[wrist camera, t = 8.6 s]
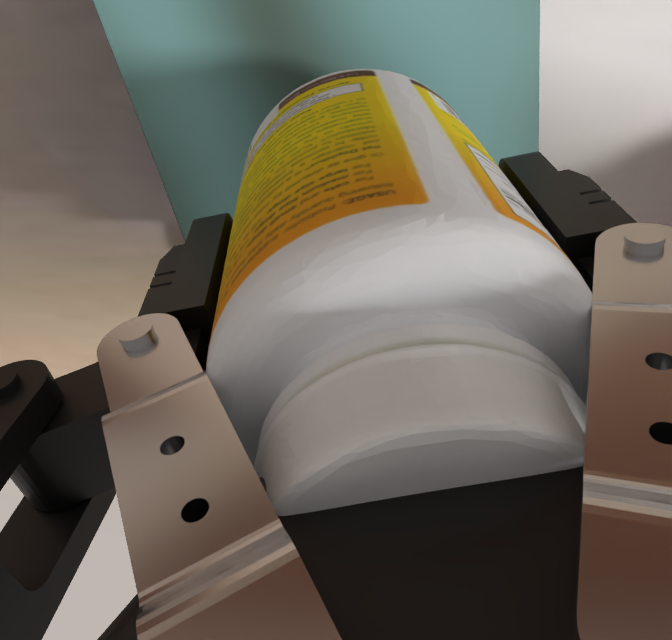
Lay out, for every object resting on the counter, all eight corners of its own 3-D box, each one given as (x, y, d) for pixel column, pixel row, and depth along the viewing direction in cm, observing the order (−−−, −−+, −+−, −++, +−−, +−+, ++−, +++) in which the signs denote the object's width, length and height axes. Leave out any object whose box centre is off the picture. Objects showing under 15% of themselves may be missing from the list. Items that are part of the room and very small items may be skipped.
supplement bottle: (223, 251, 15) (133, 662, 7) (276, 25, 12) (230, 277, 4) (420, 299, 17) (543, 700, 8) (511, 105, 14) (850, 425, 5)
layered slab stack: (519, -235, 20) (711, -355, 10) (522, 202, 29) (625, 341, 20) (64, -123, 21) (-120, -144, 12) (207, 264, 30) (166, 422, 21)
